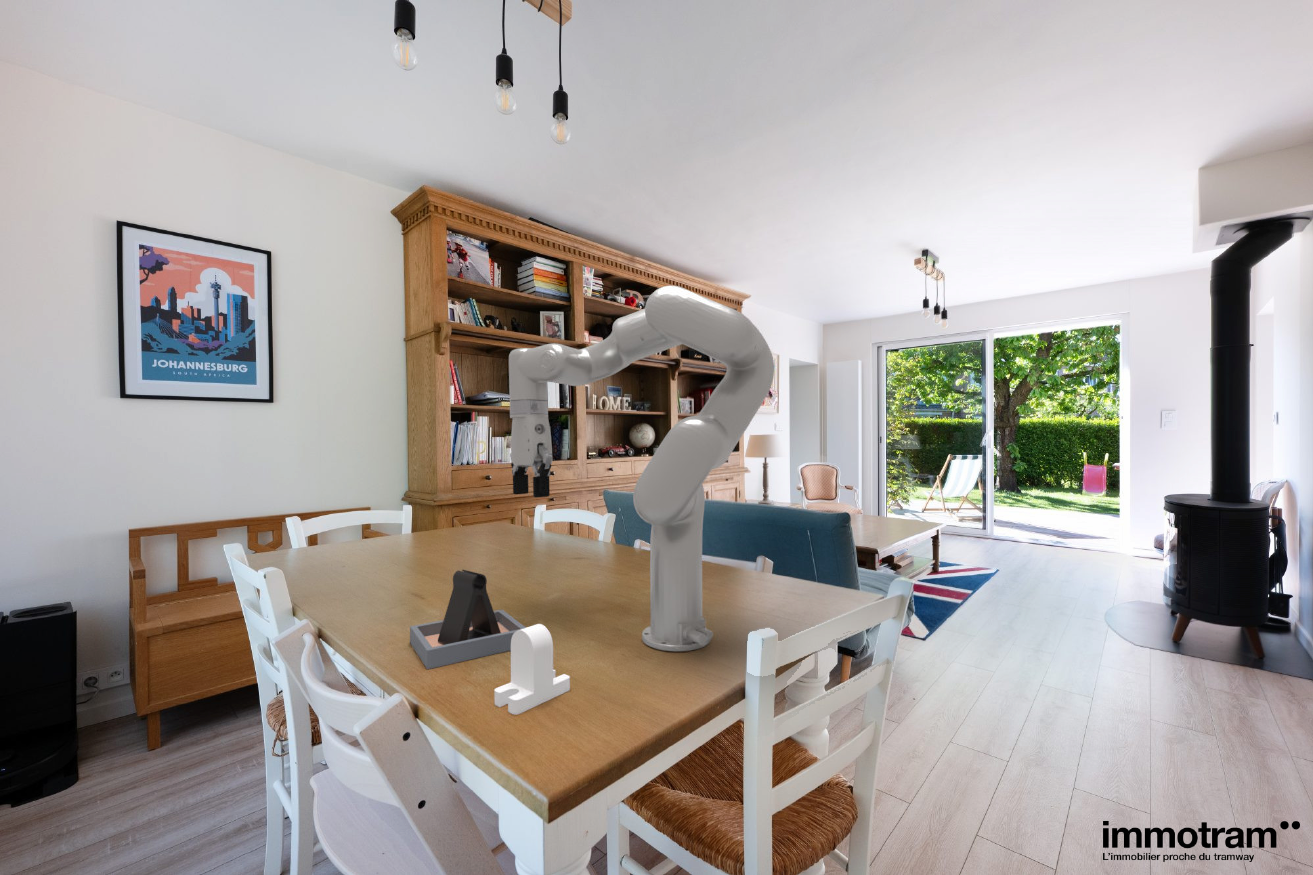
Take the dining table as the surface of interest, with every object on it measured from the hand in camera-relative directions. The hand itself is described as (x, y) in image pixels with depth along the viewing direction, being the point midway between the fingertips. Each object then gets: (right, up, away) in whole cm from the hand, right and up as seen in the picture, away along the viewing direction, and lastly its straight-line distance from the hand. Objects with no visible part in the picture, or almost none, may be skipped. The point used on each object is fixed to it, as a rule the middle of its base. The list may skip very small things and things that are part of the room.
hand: (530, 495), depth 111 cm
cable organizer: (+8, -26, -32) cm, 42 cm away
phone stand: (-8, -25, -12) cm, 29 cm away
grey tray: (-8, -26, -12) cm, 29 cm away
